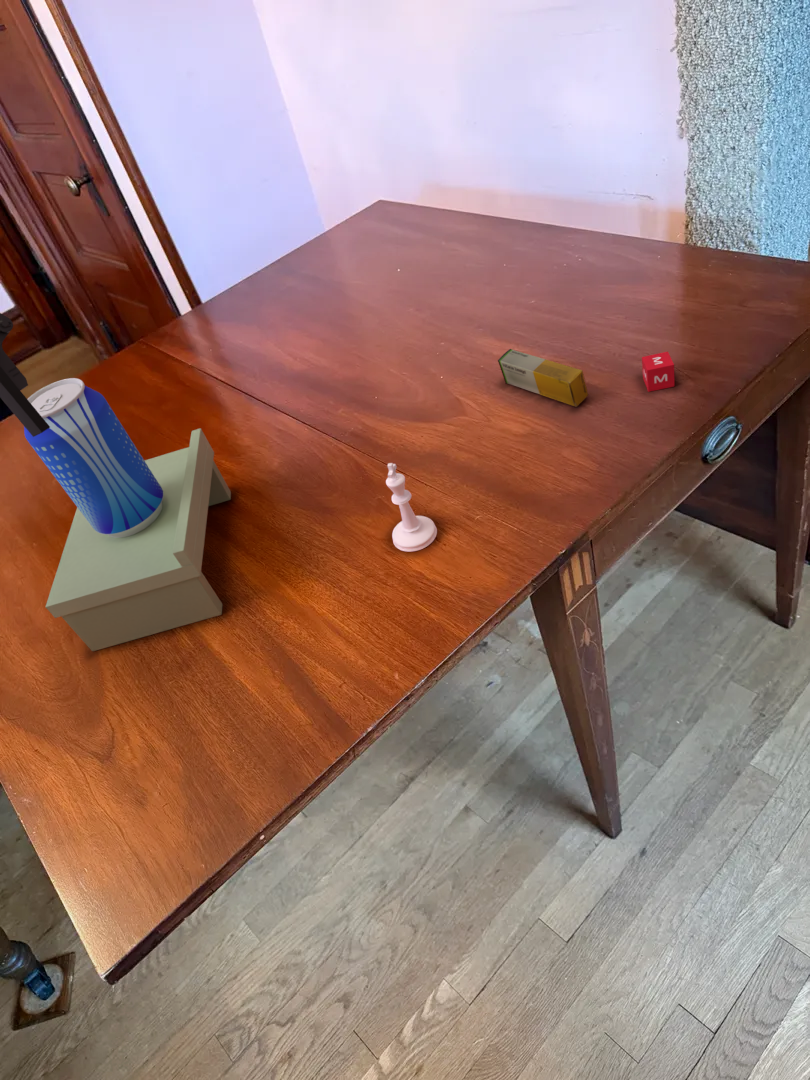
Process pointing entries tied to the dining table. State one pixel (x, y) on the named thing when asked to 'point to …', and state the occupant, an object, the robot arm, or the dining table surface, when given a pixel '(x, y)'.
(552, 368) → the medication box
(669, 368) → the red letter cube
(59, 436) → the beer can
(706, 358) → the dining table surface
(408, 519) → the chess piece
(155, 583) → the shelf
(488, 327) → the dining table surface
